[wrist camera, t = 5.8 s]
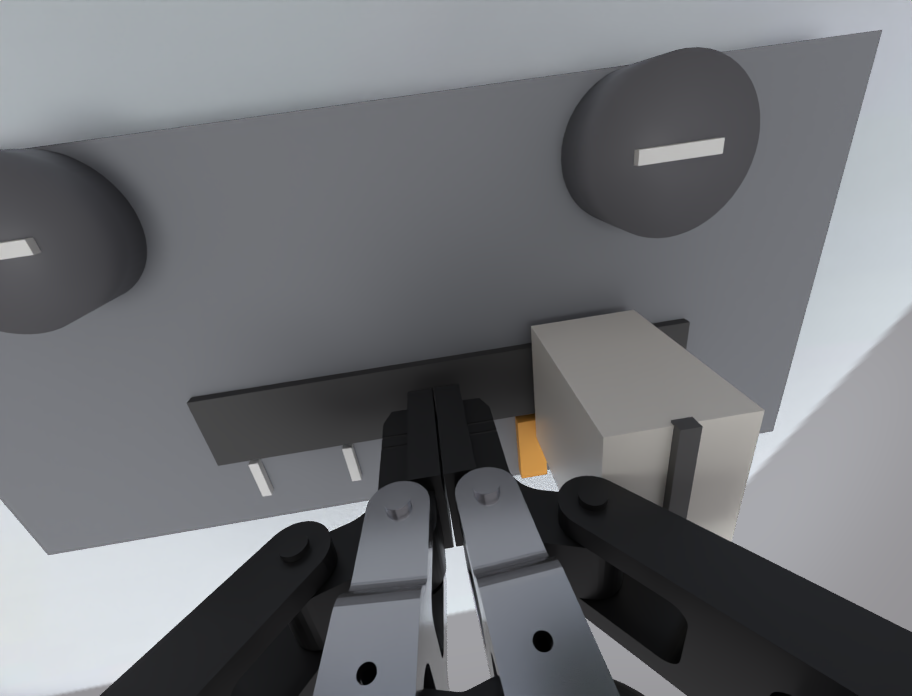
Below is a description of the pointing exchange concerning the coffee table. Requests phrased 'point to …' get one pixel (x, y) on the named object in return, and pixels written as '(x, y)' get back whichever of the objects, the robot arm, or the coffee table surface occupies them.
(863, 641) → the robot arm
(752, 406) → the fader cap
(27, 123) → the coffee table surface
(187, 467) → the console board
